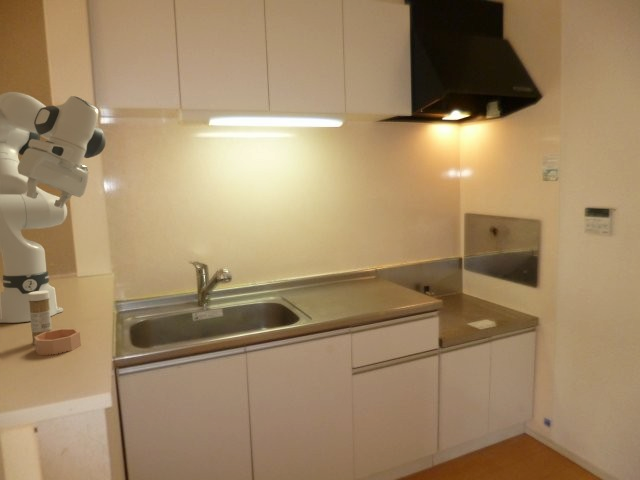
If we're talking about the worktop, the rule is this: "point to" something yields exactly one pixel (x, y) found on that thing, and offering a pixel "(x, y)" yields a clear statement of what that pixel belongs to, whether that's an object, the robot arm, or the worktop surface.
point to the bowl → (57, 341)
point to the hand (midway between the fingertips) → (45, 202)
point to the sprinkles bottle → (39, 312)
